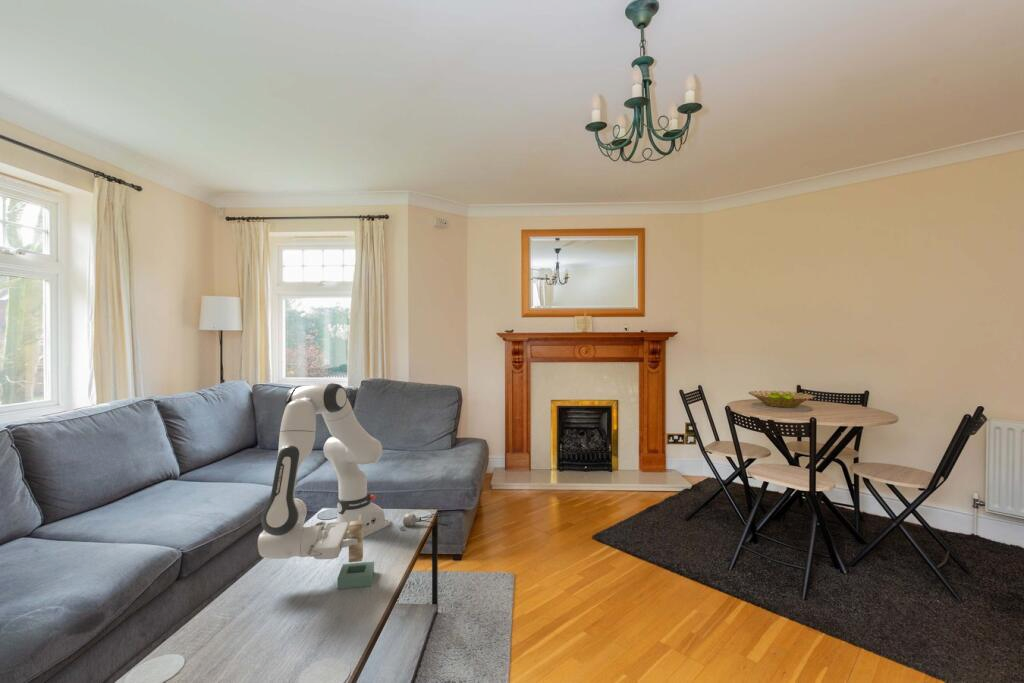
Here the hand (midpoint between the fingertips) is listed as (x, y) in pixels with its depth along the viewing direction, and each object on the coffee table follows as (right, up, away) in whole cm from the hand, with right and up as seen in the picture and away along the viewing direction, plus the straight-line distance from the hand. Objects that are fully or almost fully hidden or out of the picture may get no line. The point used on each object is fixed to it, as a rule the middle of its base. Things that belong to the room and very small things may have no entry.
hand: (358, 537), depth 146 cm
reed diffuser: (+14, -14, +42) cm, 47 cm away
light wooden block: (-1, -7, 0) cm, 7 cm away
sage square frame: (-1, -14, 0) cm, 14 cm away
